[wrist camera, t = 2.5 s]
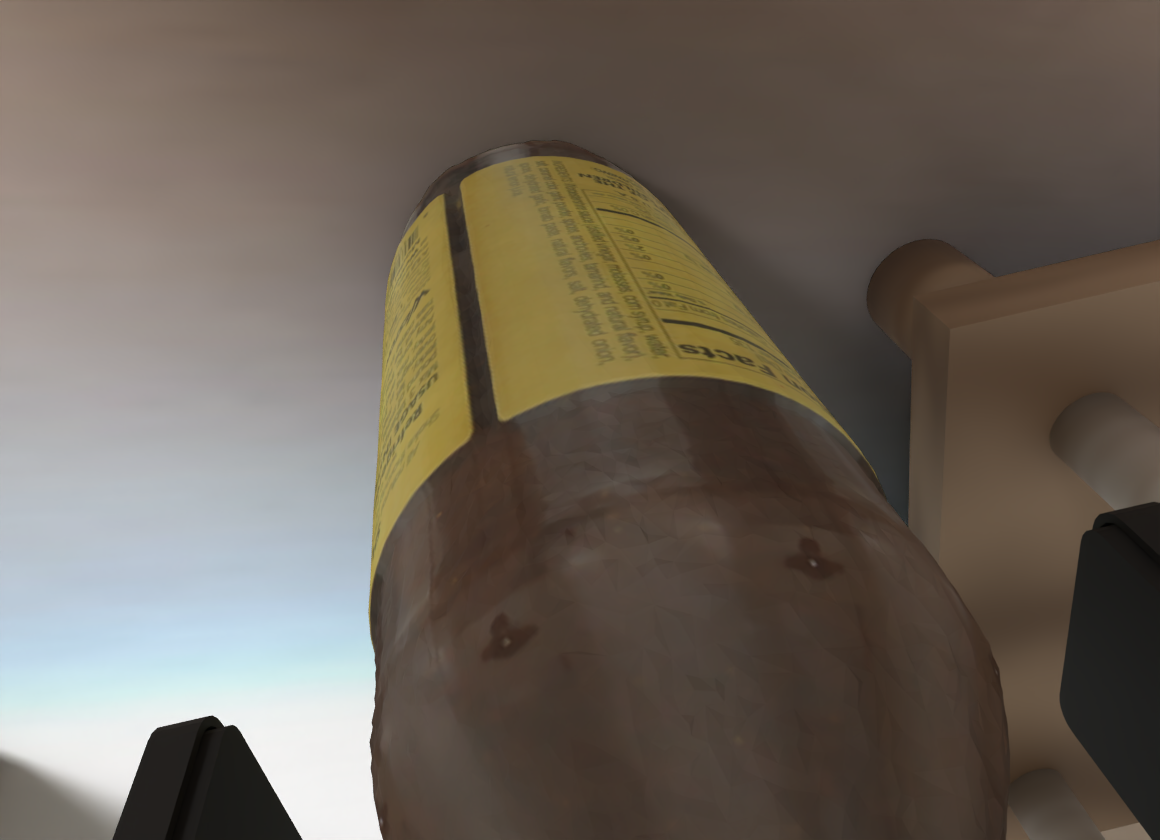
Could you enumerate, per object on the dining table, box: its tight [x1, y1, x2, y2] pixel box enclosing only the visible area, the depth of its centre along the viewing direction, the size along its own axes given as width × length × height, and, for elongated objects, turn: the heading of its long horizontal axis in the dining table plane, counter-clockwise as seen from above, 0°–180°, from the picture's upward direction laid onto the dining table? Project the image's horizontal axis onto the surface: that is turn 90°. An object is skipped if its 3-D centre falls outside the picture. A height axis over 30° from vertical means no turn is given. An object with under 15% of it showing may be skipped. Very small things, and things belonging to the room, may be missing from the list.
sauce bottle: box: [369, 140, 1010, 840], centre depth 11 cm, size 6×6×20 cm
